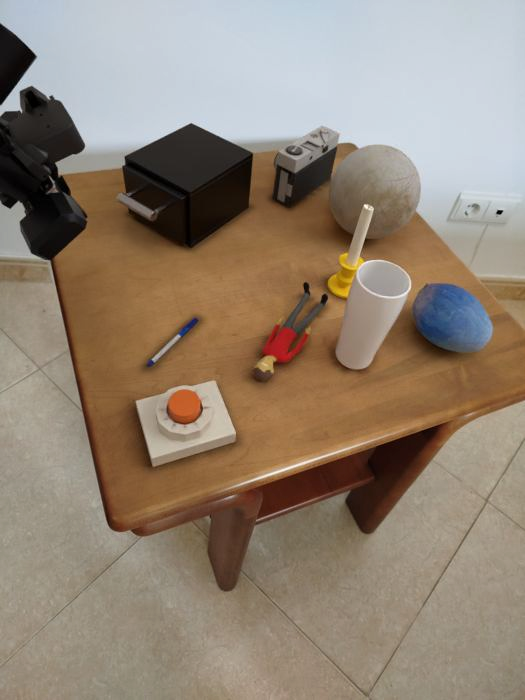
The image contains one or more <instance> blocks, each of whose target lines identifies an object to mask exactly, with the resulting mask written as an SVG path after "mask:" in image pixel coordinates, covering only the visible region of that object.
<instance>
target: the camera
mask: <svg viewBox="0 0 525 700" xmlns="http://www.w3.org/2000/svg"><path fill="white" fill-rule="evenodd" d="M340 135H341V133H340V132H338V131H336V130H333V129H331V128H329V127H327V126H325V125H320V126H319V127H317V128H315V129H314V130H312V131H310V132H308V133H306V134H305V135H303V136H302V137H300V138H298V139H297V140H295V141H293V142H292V143H290V144H288V145H287V146H285V147H283V148H281V149H279V150H278V152H277V153H276V155H275V156H274V160H273V167H274V168H275V169H274V170H275V176H274V185H273V191H272V200H273V201H275V202H276V203H278V204H279V205H282V206H284V207H286V208H287V209H288V208H290V207H293V206H294V205H295V204H297V203H298V202H300V201H301V200H303V199H304V198H305V197H306V196H308V195H309V194H311V193H313V191H315V190H317V189H318V188H319V187H321V186H322V185H324V184H325V183H327V182H328V181H329V180H331V179H332V175H333V174H332V173H333V169H334V165H335V160H336V155H337V152H338V144H339V139H340Z"/></svg>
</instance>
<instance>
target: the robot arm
mask: <svg viewBox="0 0 525 700" xmlns="http://www.w3.org/2000/svg"><path fill="white" fill-rule="evenodd" d="M37 58H38V55H36V53H35V52H34V51H33V50H32V49H31V48H30V47H29V46H28V45H27V44H26V43H25V42H24V41H23V40H22V39H21V38H20V37H19V36H18V35H17V34H15V33H14V32H13V31H12V30H10V29H9V28H8V27H6V26H5V25H4V24H2V23H1V22H0V107H1V106H2V105H3V104H4V102H5V101H6V100H7V99H8V97H9V96H10V95H11V93H12V92H13V90H14V89H15V88H16V87H17V85H18V84H19V82H20V81H21V80H22V79H23V77H24V76H25V75H26V74H27V72H28V71H29V69H30V68H31V66H32V65H33V64H34V62H36V60H37ZM18 93H19V107H20V109H21V110H20V109H19V110H5V111H4V112H3V113H2V114H1V115H0V203H1V206H3V207H6V208H8V210H11V209H12V208H13V207H14V206H15V205H16V204H17V203H20V204H21V205H22V207H23V208H24V211H23V213H24V214H25V216H23V218H22V219H20V221H19V229H20V230H19V231H20V233H21V235H22V237H23V239H24V241H25V243H26V246H27V247H28V250H29V252H30V254H32V255H34V256H36V257H37V258H39V259H42V260H44V261H52V260H53V259H54V258H55V257H57V256H58V255H59V254H60V253H61V252H62V251H63V250H65V248H67V246H68V245H70V244H71V243H72V242H73V241H74V240H75V239H76V238H77V237H78V236H79V235H80V234H82V233H83V232H84V231H85V230H86V228H87V225H88V220H87V219H88V218H89V217H88V214H87V212H86V211H85V210H84V209H83V208H82V206H81V205H80V204H79V203H78V202H77V200H76V199H75V198H74V197H73V195H72V192H71V189H70V187H69V185H68V183H67V181H66V179H65V178H64V176H63V175H60V176H59V167H58V166H57V164H56V163H58V162H60V161H62V160H64V159H66V158H69V157H71V156H73V155H74V156H76V155H79V154H80V153H82V152H83V151H84V150H85V148H86V144H85V141H84V139H83V138H82V136H81V133H80V131H79V130H78V128H77V126H76V124H75V122H74V120H73V118H72V116H71V115H70V114H69V111H68V110H67V108H66V106H65V105H64V103H63V102H62V101H61V100H60V99H56V98H55V97H54V95H53V94H51V95H49V96H48V97H47V95H46V94H44V93H43V92H42V91H40V90H39V89H38V88H36V87H34V86H33V85H29V86H27V87H25V88H23V89H21V90H19V92H18Z"/></svg>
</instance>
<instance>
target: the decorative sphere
mask: <svg viewBox="0 0 525 700" xmlns="http://www.w3.org/2000/svg"><path fill="white" fill-rule="evenodd" d="M421 192H422V185H421V178H420V175H419V171H418V169H417V167H416V166H415V163H414V162H413V161H412V160H411V158H410V157H409V156H408V155H407V154H406V153H404V152H403V151H402V150H400V149H398V148H396V147H394V146H391V145H387V144H369V145H365V146H362V147H359V148H357V149H355V150H354V151H351V152H350V153H349V154H348V155H347V156H346V157H344V158H343V159H342V160H341V161H340V163H338V166H337V167H336V168H335V170H334V172H333V174H332V175H331V179H330V182H329V187H328V202H329V207H330V211H331V214H332V216H333V217H334V219H335V221H336V222H337V223H338V225H339V226H340V227H341V228H342V229H343V230H345V231H346V232H347V233H349V234H351V235H352V236H354V233H355V230H356V227H357V224H358V220H359V217H360V214H361V211H362V209H363V206H364V205H369V203H370V206H372V207H373V208H374V210H373V214H372V218H371V221H370V224H369V227H368V230H367V234H366V237H365V239H367V240H377V239H382V238H386V237H388V236H391V235H393V234H395V233H397V232H398V231H400V230H401V229H403V227H405V226H406V225H407V224H408V223H409V221H410V220H411V219H412V218H413V216H414V215H415V213H416V210H417V208H418V206H419V203H420V200H421Z"/></svg>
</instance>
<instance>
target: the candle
mask: <svg viewBox="0 0 525 700" xmlns="http://www.w3.org/2000/svg"><path fill="white" fill-rule="evenodd" d="M373 210H374V208H373V207H372V206H370V203H369V205H364V206H363V209H362V211H361V214H360V217H359V220H358V224H357V227H356V230H355V233H354V235H353V237H352V239H351V242H350V247H349V249H348V252H344V253H342V254H341V255H340V256H339V258H338V262H339V264H340V265H341V269H339V270H338V271H337V273H336V274H333V275H331V276H330V277H329V278H328V280H327V288H328V290H329V291H330V293H331V294H333V295H334V296H335V297H339V298H341V299H347V297H348V293H349V290H350V287H351V284H352V281H353V278H354V276H355V273H356V271H357V269H358V267H359V266H360V265H361V264H363V263H364V262H365V261H364V259H363V257H361V256H360V255H361V252H362V250H363V246H364V243H365V240H366V238H365V237H366V234H367V230H368V227H369V224H370V221H371V218H372V214H373Z"/></svg>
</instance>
